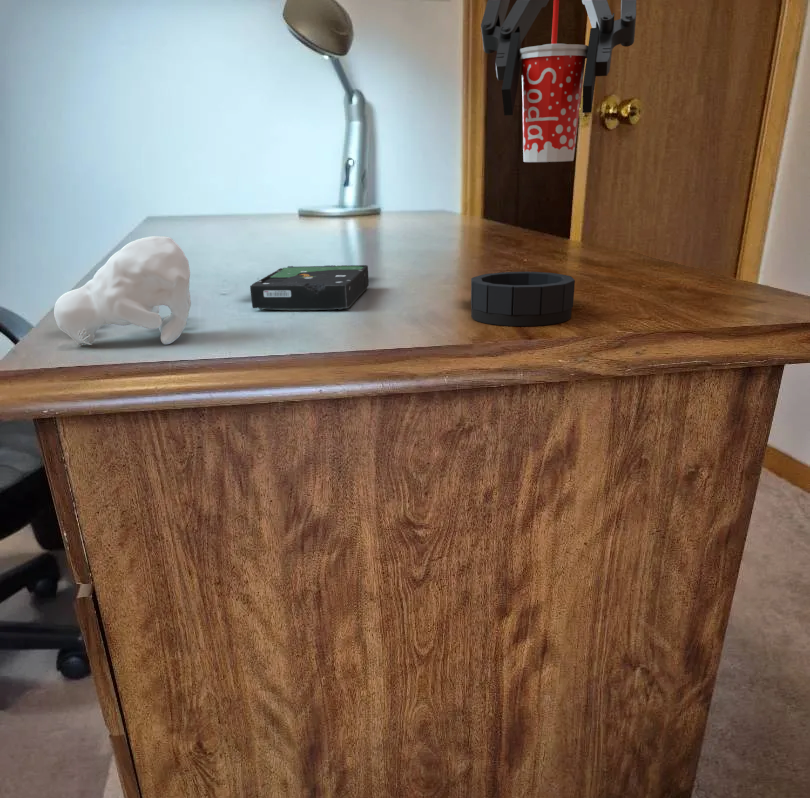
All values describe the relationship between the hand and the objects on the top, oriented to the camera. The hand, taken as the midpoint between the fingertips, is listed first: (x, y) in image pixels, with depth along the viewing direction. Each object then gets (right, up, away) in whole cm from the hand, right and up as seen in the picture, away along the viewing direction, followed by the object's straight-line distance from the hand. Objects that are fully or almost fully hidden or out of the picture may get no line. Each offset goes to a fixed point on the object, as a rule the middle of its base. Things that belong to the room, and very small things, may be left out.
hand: (546, 100), depth 68 cm
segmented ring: (-1, -16, +8) cm, 18 cm away
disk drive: (-22, -11, +20) cm, 32 cm away
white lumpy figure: (-37, -21, +2) cm, 42 cm away
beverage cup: (+1, -3, +5) cm, 6 cm away
